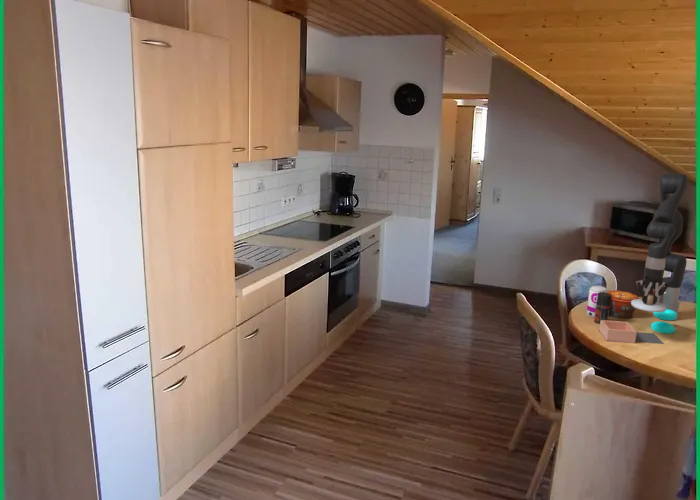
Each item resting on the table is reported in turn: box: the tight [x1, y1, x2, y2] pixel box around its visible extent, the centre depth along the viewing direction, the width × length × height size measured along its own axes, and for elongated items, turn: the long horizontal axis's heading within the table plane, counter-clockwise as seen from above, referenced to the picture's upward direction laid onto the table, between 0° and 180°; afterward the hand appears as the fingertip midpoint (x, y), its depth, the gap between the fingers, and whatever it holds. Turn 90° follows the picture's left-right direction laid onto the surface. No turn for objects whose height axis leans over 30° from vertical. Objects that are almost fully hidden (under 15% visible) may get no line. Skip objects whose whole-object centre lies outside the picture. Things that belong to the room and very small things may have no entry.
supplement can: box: [586, 285, 608, 319], centre depth 278 cm, size 8×8×15 cm
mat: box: [635, 331, 665, 345], centre depth 252 cm, size 12×12×1 cm
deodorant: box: [593, 292, 611, 325], centre depth 268 cm, size 6×6×15 cm
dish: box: [598, 319, 638, 344], centre depth 252 cm, size 12×12×6 cm
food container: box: [607, 289, 640, 320], centre depth 281 cm, size 16×16×11 cm
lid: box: [631, 293, 666, 313], centre depth 248 cm, size 14×14×6 cm
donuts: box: [650, 309, 678, 334], centre depth 261 cm, size 10×10×10 cm
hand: (648, 303), depth 248 cm, fingers closed on lid, 3 cm apart
